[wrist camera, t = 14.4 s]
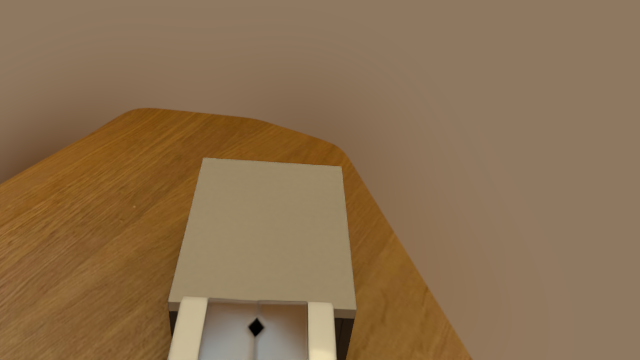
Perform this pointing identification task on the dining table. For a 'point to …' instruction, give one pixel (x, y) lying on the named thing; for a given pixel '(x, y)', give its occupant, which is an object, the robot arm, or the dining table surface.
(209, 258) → the box lid
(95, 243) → the dining table surface
